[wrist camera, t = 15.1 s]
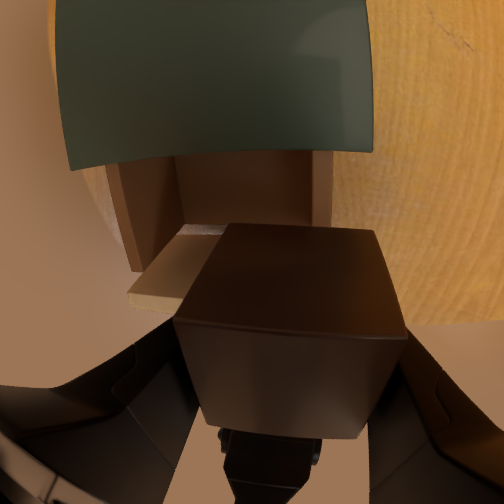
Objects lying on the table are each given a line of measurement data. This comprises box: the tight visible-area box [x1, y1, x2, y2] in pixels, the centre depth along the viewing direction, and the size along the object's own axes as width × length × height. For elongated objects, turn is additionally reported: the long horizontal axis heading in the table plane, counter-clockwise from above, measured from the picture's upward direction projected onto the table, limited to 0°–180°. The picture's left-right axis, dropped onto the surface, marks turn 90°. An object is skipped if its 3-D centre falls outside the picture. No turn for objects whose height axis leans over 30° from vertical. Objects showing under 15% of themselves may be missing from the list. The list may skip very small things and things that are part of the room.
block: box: [173, 223, 408, 439], centre depth 8 cm, size 4×4×4 cm
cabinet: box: [55, 0, 374, 171], centre depth 10 cm, size 15×13×9 cm
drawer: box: [105, 150, 333, 314], centre depth 16 cm, size 18×11×7 cm, turn 4°
